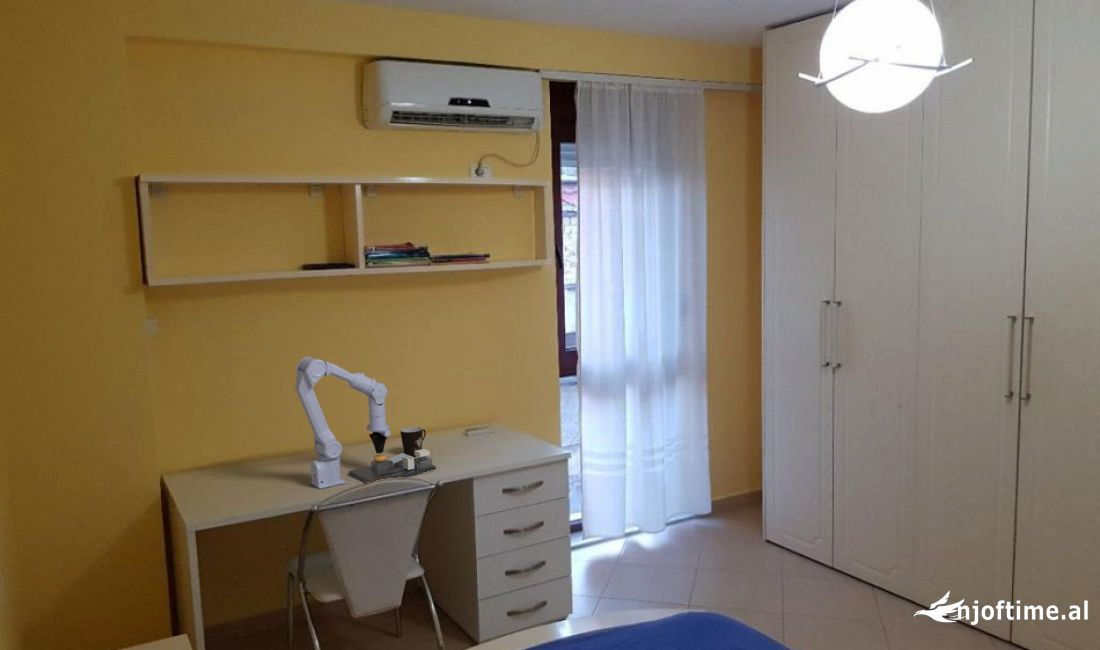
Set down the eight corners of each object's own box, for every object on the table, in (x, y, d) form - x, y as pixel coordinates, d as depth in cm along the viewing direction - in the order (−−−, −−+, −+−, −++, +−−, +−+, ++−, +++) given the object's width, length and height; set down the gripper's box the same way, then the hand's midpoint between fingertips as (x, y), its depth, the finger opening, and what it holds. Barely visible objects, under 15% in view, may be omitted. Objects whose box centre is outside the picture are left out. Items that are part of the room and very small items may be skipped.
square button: (420, 463, 293) (419, 453, 293) (414, 461, 296) (414, 450, 296) (430, 461, 296) (429, 450, 295) (424, 459, 299) (424, 448, 298)
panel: (371, 485, 280) (370, 474, 279) (349, 474, 294) (348, 463, 294) (436, 470, 295) (435, 459, 295) (411, 460, 309) (410, 450, 309)
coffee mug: (407, 459, 312) (405, 433, 310) (398, 454, 319) (396, 429, 318) (435, 453, 318) (433, 428, 317) (425, 449, 325) (424, 424, 324)
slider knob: (408, 469, 290) (407, 458, 290) (402, 467, 294) (402, 456, 293) (414, 468, 292) (413, 457, 291) (408, 466, 295) (408, 455, 295)
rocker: (393, 463, 297) (392, 461, 297) (388, 461, 300) (387, 459, 300) (407, 457, 300) (407, 454, 300) (402, 455, 303) (402, 452, 303)
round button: (377, 469, 293) (377, 458, 292) (372, 466, 296) (371, 456, 296) (389, 466, 296) (388, 456, 295) (383, 464, 299) (382, 453, 299)
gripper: (397, 416, 291) (399, 454, 292) (378, 410, 302) (380, 447, 303) (378, 419, 286) (381, 458, 288) (360, 413, 298) (362, 450, 299)
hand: (379, 452), depth 295 cm, fingers closed
